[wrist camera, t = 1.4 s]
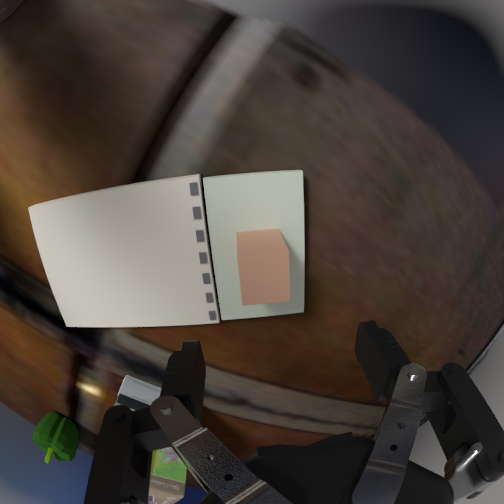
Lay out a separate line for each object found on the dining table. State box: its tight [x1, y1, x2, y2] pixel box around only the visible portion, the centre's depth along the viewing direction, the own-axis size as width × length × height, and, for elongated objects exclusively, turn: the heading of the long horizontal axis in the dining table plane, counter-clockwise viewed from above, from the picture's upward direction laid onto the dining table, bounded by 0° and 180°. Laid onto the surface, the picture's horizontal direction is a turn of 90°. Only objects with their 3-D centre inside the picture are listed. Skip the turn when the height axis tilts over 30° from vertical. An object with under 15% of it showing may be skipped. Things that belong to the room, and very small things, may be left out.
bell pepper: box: [33, 412, 78, 463], centre depth 32 cm, size 8×8×10 cm
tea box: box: [114, 375, 187, 504], centre depth 28 cm, size 15×10×15 cm
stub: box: [203, 170, 305, 320], centre depth 23 cm, size 8×13×6 cm, turn 4°
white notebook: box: [28, 174, 220, 327], centre depth 25 cm, size 18×14×1 cm
